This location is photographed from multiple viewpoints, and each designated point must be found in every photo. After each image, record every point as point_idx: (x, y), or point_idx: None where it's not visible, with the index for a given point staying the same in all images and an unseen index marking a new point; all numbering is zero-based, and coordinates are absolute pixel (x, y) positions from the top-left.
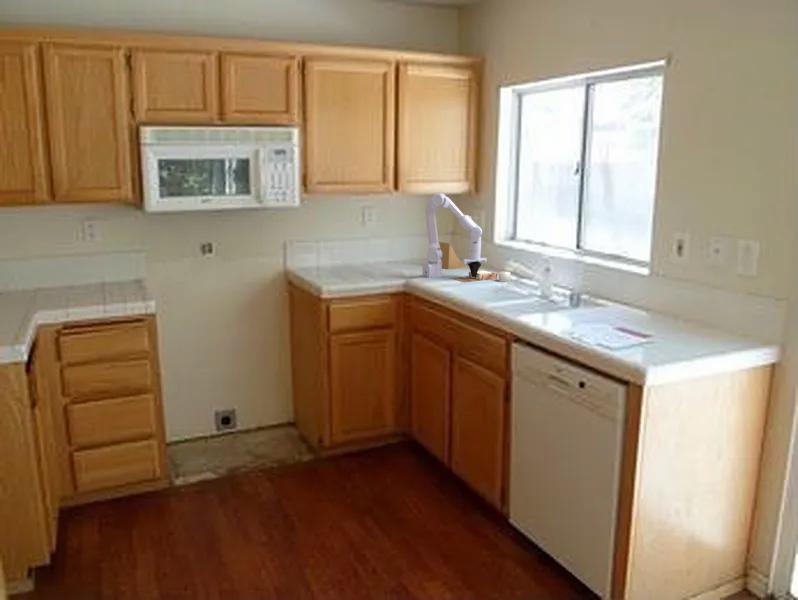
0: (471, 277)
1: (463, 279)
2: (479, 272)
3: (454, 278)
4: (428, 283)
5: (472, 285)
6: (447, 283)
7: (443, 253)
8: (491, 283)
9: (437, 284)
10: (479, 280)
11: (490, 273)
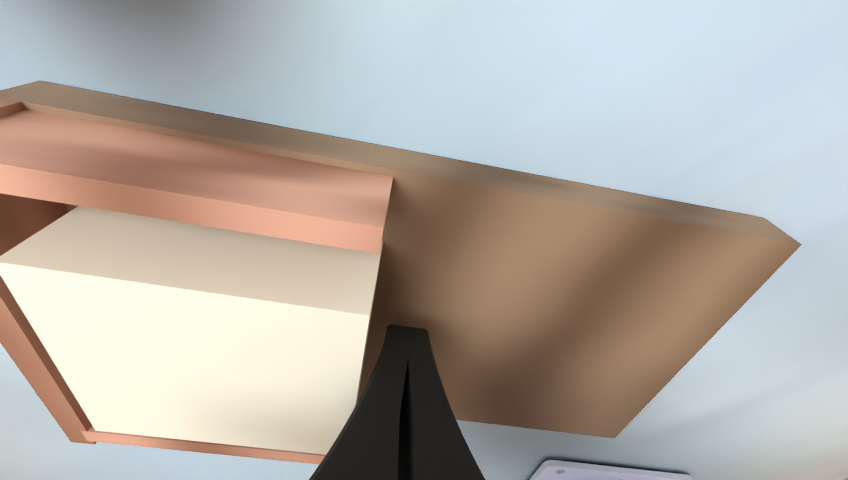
0: (363, 371)
1: (566, 356)
2: (278, 380)
3: (578, 422)
4: (818, 440)
5: (697, 137)
6: (727, 374)
7: None
8: (261, 32)
9: (840, 392)
10: (457, 198)
11: (58, 256)
